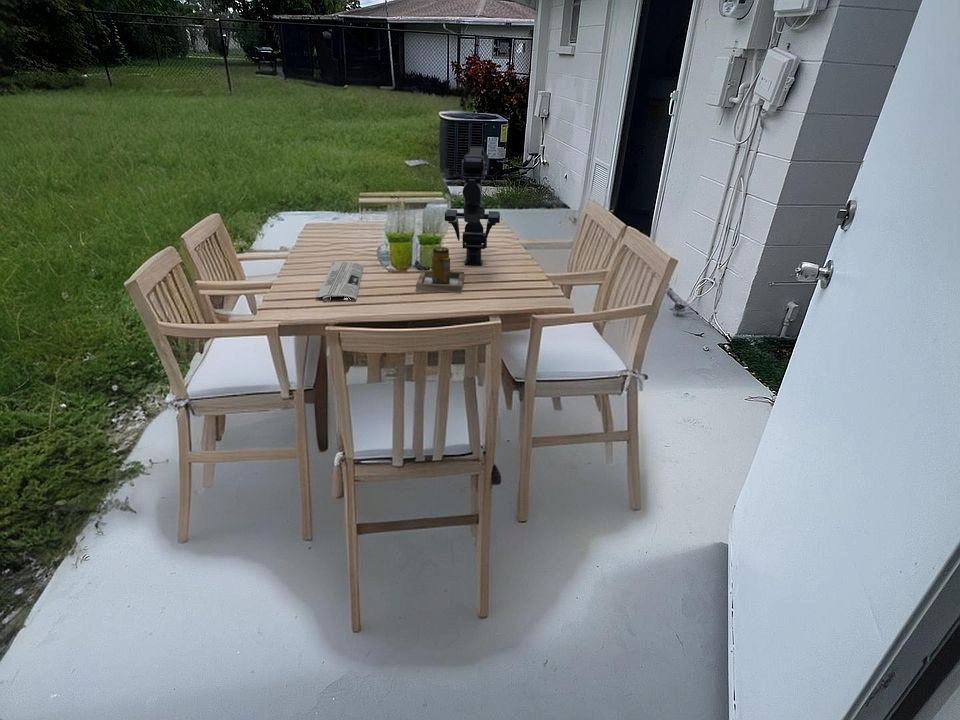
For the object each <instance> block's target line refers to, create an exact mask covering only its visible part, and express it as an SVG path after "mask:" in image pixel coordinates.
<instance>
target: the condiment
mask: <svg viewBox="0 0 960 720" xmlns="http://www.w3.org/2000/svg"><path fill="white" fill-rule="evenodd" d="M432 251H433V252H432V253H433V255H432V257H431V259H432V260H431V261H432V262H431V267H432V268H431V271H432V280H429V281H428V282H429V283H430V284H453V285H455V284H454V283H452V282H451V281H450V271H451V256H450V249H449V248H448V247H444V246H437V247H435V248H433V249H432Z"/></svg>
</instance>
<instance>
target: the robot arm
mask: <svg viewBox="0 0 960 720" xmlns="http://www.w3.org/2000/svg"><path fill="white" fill-rule="evenodd" d="M463 157H464V158H462V159H461V174H460V179H461V180H464V185H463V189H462V196H463V199H464V207H463V212H458V209H446V210H445V212H444V221H445V222H448V224H450V225H451V226H452V228H453V229H454V232H455V234H456V235H455V236H456V238H457V241H458V242H459V241H460V237H461V236H460V225H459V220H460V219H461V220H463V221H464V223H466V224H465V226H464V231H463V232H462V249H466V250H465V254H466V255H465V260H464V261H465V262H464V265H465V266H482V265H483V259H482V250H485V249H487V247H488V236H489V234H490V231H491V229H492V228H493V226H496V224H499V223H501V213H500V211H494V210H493V211H492V210H491V211H490V210H489V211H488V213H486V207H485V206H482V195H483V193H482V191H483V189H482V188H483V187H482V186H483V185H482V184H483V181H485V178H486V177H487V171H488V170H489V155H488V154H487V153H486V151H485V150H484V147H483V146H480V145H479V146H478V145H472V146H469V151H468V152H467V153H466V154H465V155H464V156H463ZM481 220H487V222H486V228H485V230H484V226H483V224H482V222H481ZM484 231H485V232H484Z"/></svg>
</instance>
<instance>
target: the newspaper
mask: <svg viewBox="0 0 960 720" xmlns="http://www.w3.org/2000/svg"><path fill="white" fill-rule="evenodd" d="M362 271H364V265H363V264H361V263H360V262H355V261H339V260H335V259H332V261H331V263H330V266H329V269H328V271H327V273H326V276H325V279H324V281H323V282H322V284H321V287H320V288H319V289H318V290H319V291H318V292H317V294H316V295H315V298H321V297H322V302H324V303H328V302H327V301H329V302H331V301H330V297H331V296H332V297H343V296H346V297H347V298H348V297H349V298H350V299H351V300H352V301H351V302H356V300H357V298H358V294H359V290H360V285H361V279H362V277H363V272H362ZM346 297H345V298H346ZM349 298H348V300H350V299H349ZM325 301H326V302H325Z"/></svg>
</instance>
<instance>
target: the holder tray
mask: <svg viewBox="0 0 960 720" xmlns="http://www.w3.org/2000/svg"><path fill="white" fill-rule="evenodd" d="M417 279H418V280H417V282H416V284H415V291H416V293H435V292H450V293H449V294H460V293H461V292H463V288H462V287H463V286H464V281H465V271H454V270H453V271H451V270H450V281H451V282H452V283H454V284H455V285H453V284H430V283H429V282H428V281H429V280H432V270H427V269H426V270H425V269H423V270H421V271H420V274H419V276H418V278H417ZM461 294H462V293H461Z"/></svg>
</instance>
